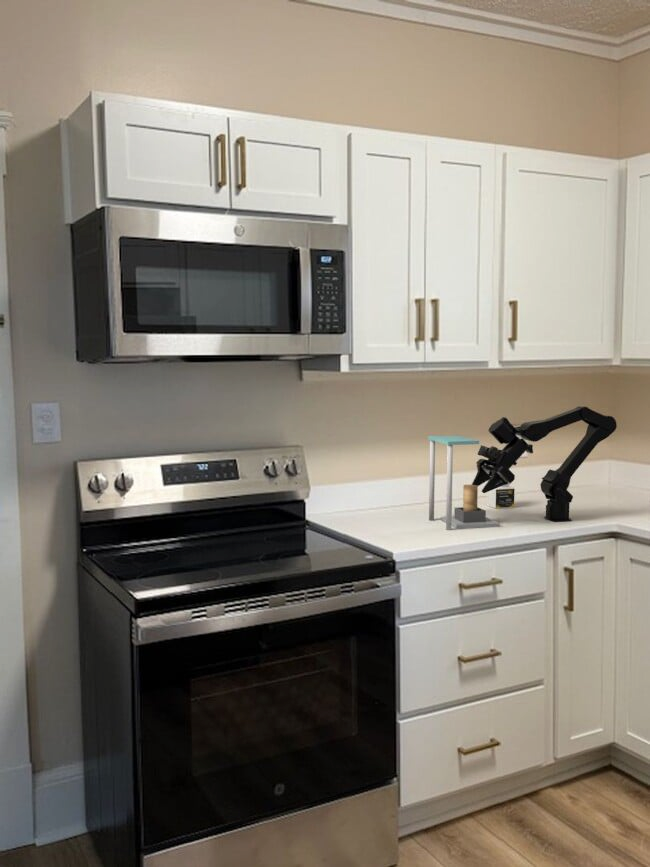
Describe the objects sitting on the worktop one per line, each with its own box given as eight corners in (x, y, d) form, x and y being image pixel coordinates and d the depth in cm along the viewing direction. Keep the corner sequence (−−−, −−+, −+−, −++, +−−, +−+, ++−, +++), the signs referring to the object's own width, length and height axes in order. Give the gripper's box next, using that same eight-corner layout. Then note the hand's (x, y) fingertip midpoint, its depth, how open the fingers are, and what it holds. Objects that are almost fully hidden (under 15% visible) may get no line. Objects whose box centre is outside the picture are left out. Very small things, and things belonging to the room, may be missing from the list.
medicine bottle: (495, 509, 299) (496, 474, 298) (486, 505, 306) (487, 471, 305) (514, 508, 301) (515, 473, 300) (504, 504, 308) (505, 471, 307)
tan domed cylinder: (469, 518, 277) (470, 484, 276) (480, 520, 274) (480, 485, 273) (460, 519, 274) (460, 485, 273) (470, 522, 271) (471, 487, 270)
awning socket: (479, 517, 284) (480, 435, 281) (501, 527, 267) (503, 440, 265) (427, 519, 280) (428, 436, 277) (446, 530, 263) (448, 441, 261)
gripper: (482, 433, 282) (449, 468, 281) (505, 439, 264) (470, 476, 263) (504, 457, 284) (472, 491, 283) (529, 464, 266) (495, 501, 265)
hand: (477, 489), depth 273 cm, fingers open, 9 cm apart
